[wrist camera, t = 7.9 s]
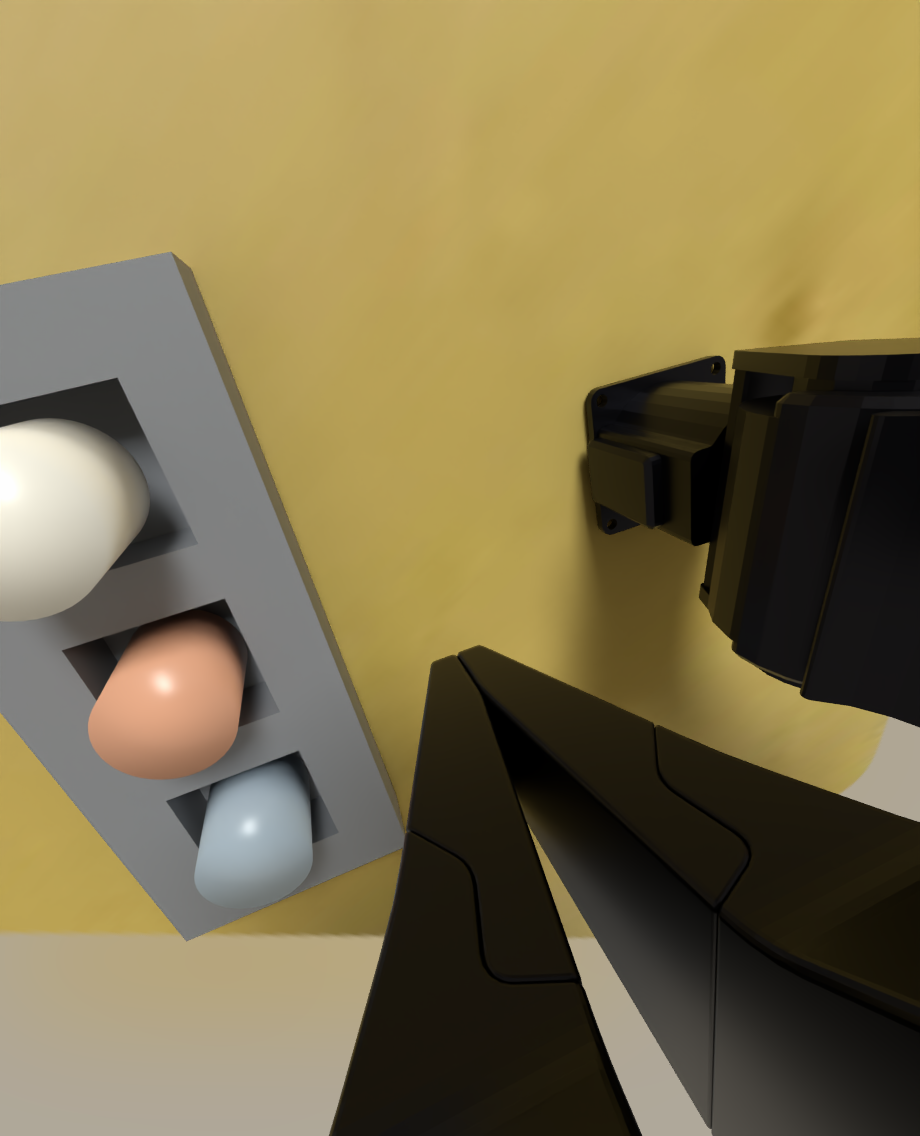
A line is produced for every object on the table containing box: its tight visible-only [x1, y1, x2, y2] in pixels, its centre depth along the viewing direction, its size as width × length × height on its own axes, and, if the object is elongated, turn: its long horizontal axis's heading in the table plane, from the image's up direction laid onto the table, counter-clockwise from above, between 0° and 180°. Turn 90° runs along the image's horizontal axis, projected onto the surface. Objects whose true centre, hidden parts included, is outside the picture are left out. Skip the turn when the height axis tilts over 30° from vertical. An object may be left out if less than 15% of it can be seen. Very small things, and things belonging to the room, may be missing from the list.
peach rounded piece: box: [88, 609, 248, 780], centre depth 17 cm, size 4×4×4 cm
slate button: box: [194, 754, 313, 909], centre depth 20 cm, size 4×4×4 cm
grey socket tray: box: [0, 252, 405, 941], centre depth 19 cm, size 10×24×3 cm, turn 12°
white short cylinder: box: [0, 418, 150, 622], centre depth 13 cm, size 4×4×4 cm
